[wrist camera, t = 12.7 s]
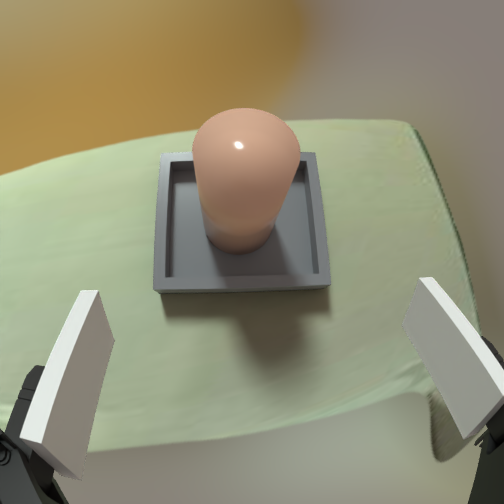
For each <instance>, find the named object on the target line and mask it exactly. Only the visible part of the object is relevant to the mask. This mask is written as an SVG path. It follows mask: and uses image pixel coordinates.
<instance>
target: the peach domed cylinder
mask: <svg viewBox="0 0 504 504" xmlns="http://www.w3.org/2000/svg"><path fill="white" fill-rule="evenodd" d="M192 155H193V162H194V168H195V175H196V181H197V188H198V194H199V200H200V206H201V212H202V218H203V224H204V229H205V233H206V235H207V237H208V239H209V240H210V242H211V243H212V244H213V245H214V246H215V247H217V248H218V249H220V250H221V251H223V252H226V253H229V254H234V255H243V254H248V253H251V252H254V251H256V250H258V249H259V248H260V247H262V246H263V245H264V244H265V243H266V241H267V240H268V238H269V236H270V234H271V232H272V229H273V227H274V224H275V222H276V220H277V217H278V215H279V212H280V210H281V207H282V205H283V203H284V200H285V198H286V195H287V193H288V190H289V188H290V186H291V183H292V181H293V178H294V176H295V173H296V171H297V168H298V166H299V162H300V146H299V142H298V140H297V137H296V136H295V134H294V132H293V131H292V130H291V128H290V127H289V126H288V125H287V124H286V123H285V122H283V121H282V120H281V119H279V118H278V117H276V116H274V115H272V114H270V113H268V112H265V111H262V110H258V109H251V108H238V109H231V110H227V111H224V112H221V113H219V114H217V115H215V116H213V117H212V118H210V119H209V120H208V121H206V122H205V123H204V124H203V125H202V126H201V127H200V129H199V130H198V132H197V134H196V136H195V138H194V142H193V147H192Z"/></svg>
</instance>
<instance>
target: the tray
mask: <svg viewBox="0 0 504 504" xmlns="http://www.w3.org/2000/svg"><path fill="white" fill-rule="evenodd" d="M329 285H331V276H330V266H329V255H328V246H327V237H326V228H325V219H324V211H323V204H322V196H321V189H320V181H319V175H318V168H317V161H316V155H315V153H312V152H300V162H299V166H298V168H297V171H296V173H295V176H294V178H293V181H292V183H291V186H290V188H289V190H288V193H287V195H286V198H285V200H284V203H283V205H282V207H281V210H280V212H279V215H278V217H277V220H276V222H275V224H274V227H273V229H272V232H271V234H270V236H269V238H268V240H267V241H266V243H265V244H264V245H263V246H262V247H260V248H259V249H258V250H256V251H254V252H251V253H248V254H243V255H234V254H229V253H226V252H223V251H221V250H220V249H218V248H217V247H215V246H214V245H213V244H212V243H211V242H210V240H209V239H208V237H207V235H206V233H205V229H204V224H203V218H202V212H201V206H200V200H199V194H198V188H197V181H196V175H195V168H194V162H193V155H192V152H176V153H161V158H160V169H159V180H158V192H157V206H156V222H155V242H154V274H153V290H155V291H156V292H158V293H159V294H163V293H227V292H261V291H287V290H309V289H323V288H325V287H327V286H329Z"/></svg>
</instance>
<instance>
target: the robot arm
mask: <svg viewBox="0 0 504 504" xmlns="http://www.w3.org/2000/svg"><path fill="white" fill-rule="evenodd" d="M402 327H403V329H404V330H405V332H406V334H407V335H408V337H409V339H410V340H411V342H412V344H413V346H414V347H415V349H416V351H417V352H418V354H419V356H420V358H421V359H422V361H423V363H424V365H425V366H426V368H427V370H428V372H429V374H430V375H431V377H432V379H433V381H434V383H435V384H436V386H437V388H438V390H439V392H440V394H441V396H442V398H443V399H444V401H445V403H446V405H447V407H448V409H449V411H450V413H451V415H452V417H453V419H454V421H455V423H456V425H457V427H458V429H459V431H460V433H461V435H462V437H463V439H466V438H468V437H470V436H472V435H474V434H476V433H478V432H479V431H480V430H481V429H482V428H483V427H484V426H485V424H486V426H487V428H488V429H487V430H486V431H485V432H484V433H483V434H482V435H481V436H480V437H479V438H478V439H477V440H476V442H475V444H474V445H475V446H476V445H477V444H479V443H480V442H481V441H482V440H483V442H482V443H481V444H480V446H479V447H481V448H482V449H481V454H480V458H479V463H478V468H477V472H476V476H475V480H474V483H473V487H472V491H471V494H470V498H469V501H468V504H504V362H503V358H502V357H501V356H500V355H499V354H498V351H497V350H496V349H495V348H494V346H493V345H492V343H490V342H489V341H488V340H487V339H486V338H484V337H483V336H481V337H480V336H479V334H478V333H477V332H476V330H475V329H474V328H473V327H472V325H471V324H470V323H469V321H468V320H467V319H466V317H465V316H464V315H463V314H462V312H461V311H460V310H459V309H458V307H457V306H456V305H455V304H454V302H453V301H452V300H451V299H450V297H449V296H448V295H447V294H446V293H445V291H444V290H443V289H442V288H441V287H440V285H439V284H438V283H437V282H436V281H435V280H434V278H433V277H425V278H419V280H418V283H417V285H416V288H415V291H414V294H413V297H412V300H411V302H410V305H409V308H408V310H407V313H406V315H405V318H404V321H403V323H402ZM114 341H115V340H114V338H113V335H112V332H111V329H110V326H109V323H108V320H107V317H106V314H105V311H104V308H103V304H102V301H101V298H100V295H99V291H98V290H81V292H80V294H79V296H78V297H77V299H76V301H75V303H74V305H73V307H72V309H71V311H70V313H69V315H68V317H67V320H66V322H65V324H64V326H63V328H62V330H61V332H60V334H59V337H58V339H57V341H56V343H55V345H54V348H53V350H52V352H51V354H50V357H49V359H48V361H47V364H46V366H39V365H36V366H35V367H34V368H33V369H32V370H31V371H30V372H29V373H28V374H27V376H26V378H25V380H24V383H23V385H22V390H20V393H19V395H18V400H16V403H15V405H14V408H13V411H12V413H11V416H10V419H9V421H8V424H7V427H6V430H5V433H4V432H3V431H2V430H1V429H0V504H69V503H68V501H67V500H66V498H65V496H64V494H63V493H62V491H61V489H60V487H59V486H58V484H57V482H56V480H55V479H54V478H53V473H54V470H55V471H57V472H58V473H59V474H60V475H61V476H64V477H68V478H72V479H77V480H82V476H83V471H84V465H85V459H86V454H87V449H88V444H89V439H90V435H91V430H92V425H93V421H94V416H95V412H96V408H97V404H98V400H99V396H100V392H101V388H102V384H103V380H104V376H105V373H106V369H107V366H108V362H109V358H110V355H111V351H112V348H113V345H114Z"/></svg>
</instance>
